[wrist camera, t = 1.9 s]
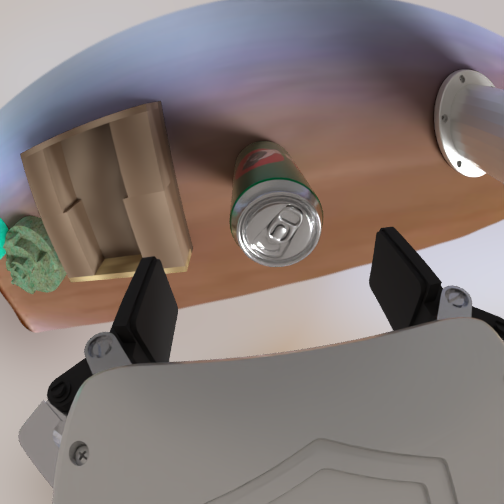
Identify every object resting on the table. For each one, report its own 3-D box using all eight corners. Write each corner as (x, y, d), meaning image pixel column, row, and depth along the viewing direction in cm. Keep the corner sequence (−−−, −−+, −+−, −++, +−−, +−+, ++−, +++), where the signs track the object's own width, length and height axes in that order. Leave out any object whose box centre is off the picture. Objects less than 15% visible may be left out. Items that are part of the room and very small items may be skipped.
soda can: (225, 177, 24) (211, 250, 14) (252, 129, 22) (261, 165, 12) (273, 202, 26) (292, 285, 16) (302, 157, 23) (347, 215, 13)
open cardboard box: (160, 101, 20) (145, 103, 17) (192, 248, 28) (186, 271, 25) (43, 143, 21) (20, 153, 17) (85, 261, 29) (71, 282, 25)
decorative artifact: (42, 203, 24) (6, 230, 26) (7, 233, 19) (-23, 259, 20) (82, 270, 30) (41, 286, 31) (58, 308, 24) (19, 319, 25)
